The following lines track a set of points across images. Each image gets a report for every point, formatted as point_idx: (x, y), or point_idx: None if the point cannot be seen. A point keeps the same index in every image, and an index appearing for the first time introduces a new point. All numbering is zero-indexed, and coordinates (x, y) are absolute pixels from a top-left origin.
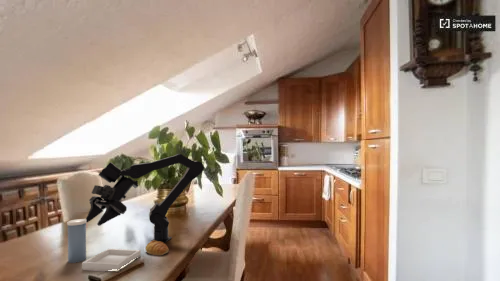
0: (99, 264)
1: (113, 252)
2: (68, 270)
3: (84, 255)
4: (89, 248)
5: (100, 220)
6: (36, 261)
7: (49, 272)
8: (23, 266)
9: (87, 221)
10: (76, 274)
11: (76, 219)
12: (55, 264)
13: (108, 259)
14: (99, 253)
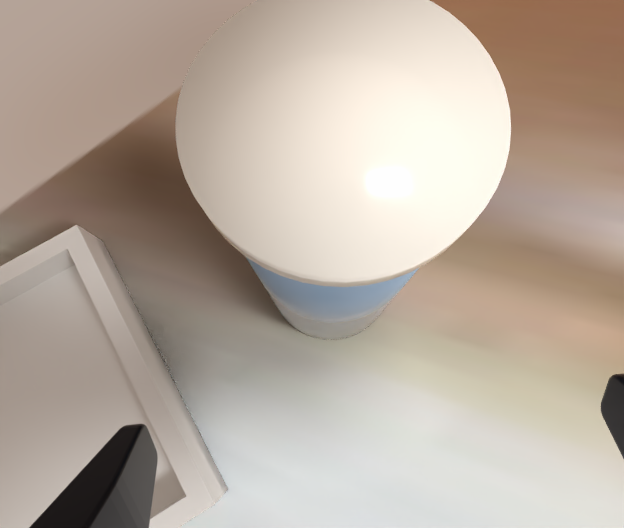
0: None
1: (152, 515)
2: (173, 184)
3: (279, 310)
4: (551, 446)
5: (61, 492)
6: (519, 95)
7: None
8: (477, 31)
9: (610, 412)
10: (64, 197)
11: (500, 148)
12: None
13: (74, 423)
14: (156, 388)
